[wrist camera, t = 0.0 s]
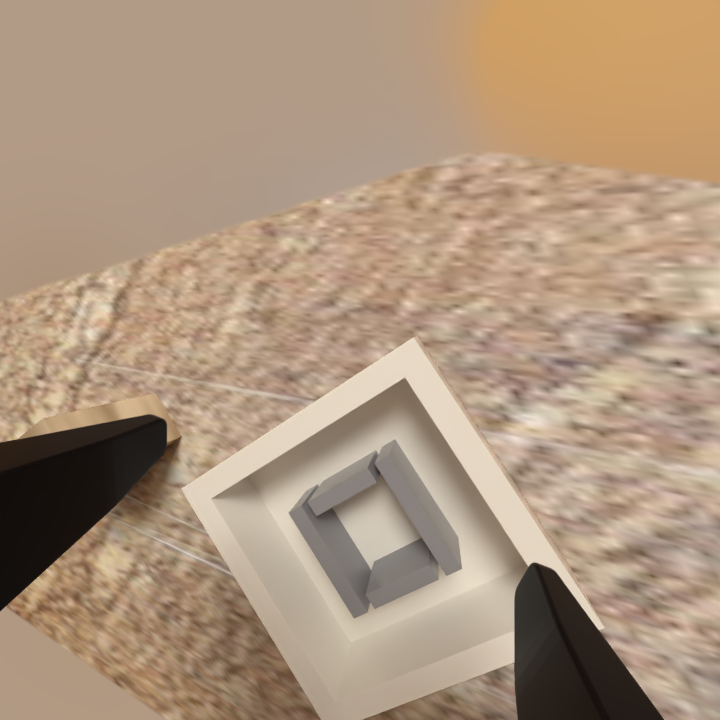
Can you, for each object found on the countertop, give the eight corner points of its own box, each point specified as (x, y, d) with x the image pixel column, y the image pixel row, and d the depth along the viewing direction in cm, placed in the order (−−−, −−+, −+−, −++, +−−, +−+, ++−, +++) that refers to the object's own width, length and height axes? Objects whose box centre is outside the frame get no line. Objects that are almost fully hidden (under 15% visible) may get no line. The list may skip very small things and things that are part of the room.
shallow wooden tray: (348, 655, 25) (328, 732, 21) (227, 459, 26) (181, 488, 21) (566, 561, 22) (604, 627, 17) (417, 335, 22) (413, 337, 18)
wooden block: (146, 460, 28) (35, 511, 20) (121, 418, 28) (1, 452, 20) (181, 436, 27) (79, 479, 19) (155, 393, 27) (42, 418, 19)
